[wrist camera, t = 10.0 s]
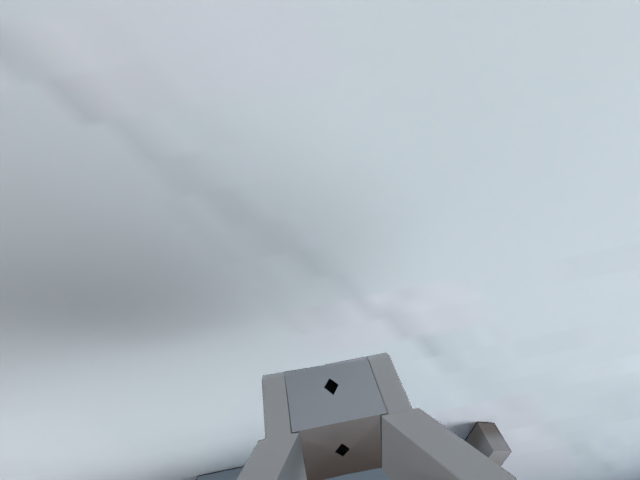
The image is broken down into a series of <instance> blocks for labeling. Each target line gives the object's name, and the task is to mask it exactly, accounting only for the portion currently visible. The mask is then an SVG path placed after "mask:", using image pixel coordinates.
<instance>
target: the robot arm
mask: <svg viewBox="0 0 640 480" xmlns="http://www.w3.org/2000/svg"><path fill="white" fill-rule="evenodd" d="M262 391H263V408H264V424H265V439H263V440H259V441H258V443H257V445H256V446H255V448H254V450H253V452H252V453H251V455H250V457H249V459H248V460H247V462H246V464H245V466H244V467H243V469H242V471H241V473H240V475H239V476H238V478H237V480H325V479H329V478H333V477H337V476H341V475H344V474H345V475H346V474H351V473H356V472H362V471H367V470H372V469H378V468H382V471H383V472H384V473H385V474H386V475H387V476H388V477H389V478H390V479H391V480H517V479H516V477H514V476H513V475H511V474H510V473H509V472H507V471H506V470H505V469H503V468H502V467H500V466H499V465H498V464H496V463H495V462H493V461H492V460H491V459H489V458H488V457H486V456H485V455H484V454H482V453H481V452H480V451H478V450H477V449H475V448H474V447H473V446H471V445H470V444H468V443H467V442H466V441H464V440H463V439H461V438H460V437H459V436H457V435H456V434H455V433H453V432H452V431H450V430H449V429H448V428H446V427H445V426H443V425H442V424H441V423H439V422H438V421H436V420H435V419H434V418H432V417H431V416H430V415H428V414H427V413H425V412H424V411H423V410H421V409H420V408H415V409H412V406H411V404H410V402H409V399H408V397H407V395H406V393H405V390H404V388H403V386H402V383H401V381H400V379H399V376H398V374H397V372H396V370H395V367H394V365H393V363H392V360H391V358H390V356H389V355H388V354H387V353H382V354H377V355H372V356H366V357H360V358H355V359H350V360H345V361H340V362H335V363H330V364H325V365H322V366H316V367H310V368H304V369H298V370H291V371H285V374H284V372H281V373H275V374H269V375H263V377H262Z"/></svg>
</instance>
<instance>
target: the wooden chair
mask: <svg viewBox="0 0 640 480" xmlns="http://www.w3.org/2000/svg"><path fill="white" fill-rule="evenodd" d="M466 442H467V443H468V444H470V445H471V446H473V447H474V448H475V449H477V450H478V451H480V452H481V453H482V454H484V455H485V456H486V457H488V458H489V459H491V460H492V461H493V462H495V463H496V464H498V465H499V466H501V465H502V464H503V462H504V461H505V460H506V458H507V457H508V456H509V454H510V453H511V449H510V448H509V446H508V444H507V443H506V441H505V440H504V438H503V436H502V435H501V433H500V431H499V430H498V428H497V427H496V425H495V423H477V424H476V425H475V427H474V428H473V430H472V432H471V433H470V435H469V436H468V438H467V439H466Z"/></svg>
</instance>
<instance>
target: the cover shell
mask: <svg viewBox="0 0 640 480" xmlns="http://www.w3.org/2000/svg"><path fill="white" fill-rule="evenodd" d="M242 469H243V467H242V468H237V469H232V470H227V471H222V472H217V473H212V474H208V475H203V476H198V477H197V480H237V478H238V476H239V475H240V473H241V471H242ZM325 480H391V479H390V478H389V477H388V476H387V475H386V474H385V473H384V472H383V471H382V468H378V469H372V470H367V471H362V472H356V473H351V474H346V475H345V474H344V475H341V476H337V477H333V478H329V479H325Z"/></svg>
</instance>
